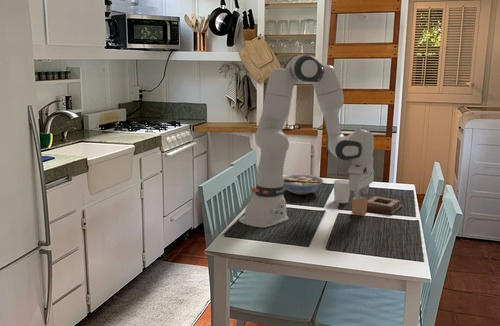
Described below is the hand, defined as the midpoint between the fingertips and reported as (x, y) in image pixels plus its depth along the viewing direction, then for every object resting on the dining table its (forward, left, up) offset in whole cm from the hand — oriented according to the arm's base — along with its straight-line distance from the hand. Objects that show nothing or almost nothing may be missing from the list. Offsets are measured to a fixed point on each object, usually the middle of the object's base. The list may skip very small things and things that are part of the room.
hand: (361, 196), depth 212 cm
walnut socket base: (+13, -6, -8) cm, 16 cm away
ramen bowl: (+13, +37, -8) cm, 40 cm away
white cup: (+12, +14, -8) cm, 20 cm away
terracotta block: (0, 0, -8) cm, 8 cm away
